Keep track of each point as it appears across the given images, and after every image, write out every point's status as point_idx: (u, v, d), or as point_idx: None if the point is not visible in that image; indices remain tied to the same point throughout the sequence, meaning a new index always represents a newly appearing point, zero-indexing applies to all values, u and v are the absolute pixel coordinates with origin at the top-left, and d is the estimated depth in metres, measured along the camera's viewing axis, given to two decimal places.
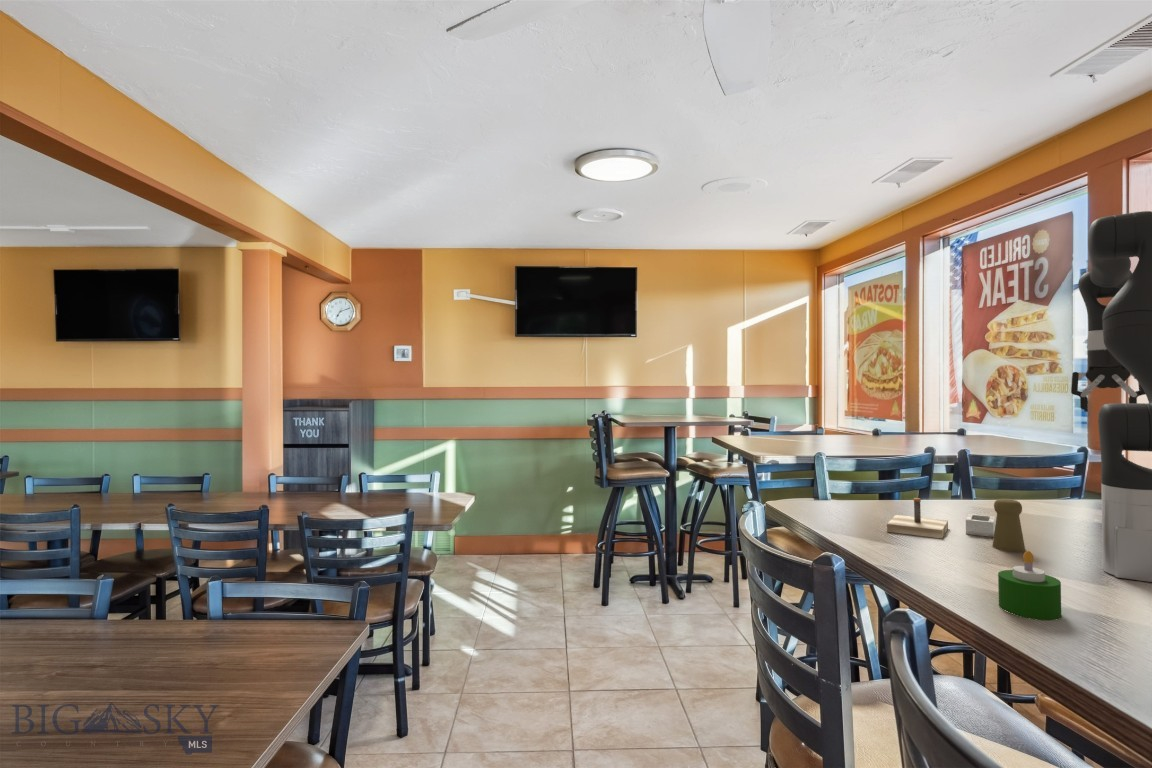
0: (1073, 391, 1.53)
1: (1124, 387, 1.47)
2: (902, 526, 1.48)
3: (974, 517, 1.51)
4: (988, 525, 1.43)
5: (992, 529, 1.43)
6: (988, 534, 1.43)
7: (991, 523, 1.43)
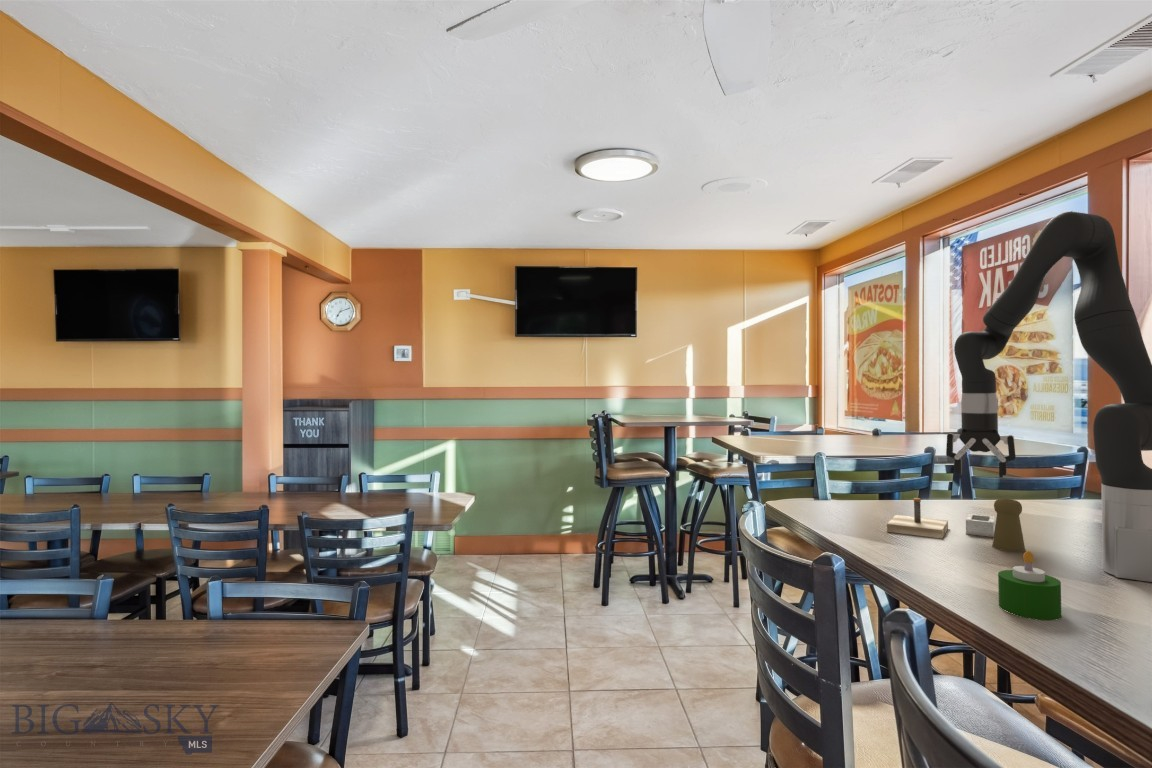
0: (947, 453, 1.51)
1: (994, 452, 1.44)
2: (902, 526, 1.48)
3: (974, 517, 1.51)
4: (988, 525, 1.43)
5: (992, 529, 1.43)
6: (988, 534, 1.43)
7: (991, 523, 1.43)
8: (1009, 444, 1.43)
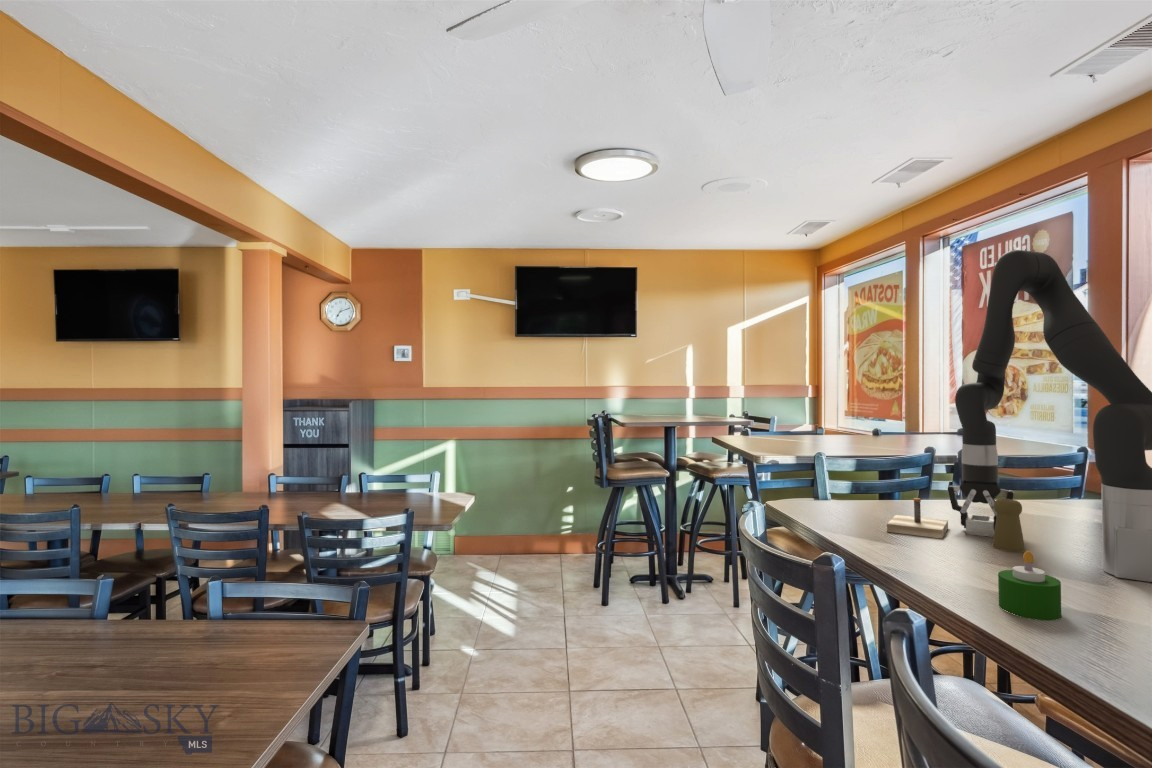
0: (953, 506, 1.50)
1: (991, 505, 1.45)
2: (902, 526, 1.48)
3: (974, 517, 1.51)
4: (988, 525, 1.43)
5: (992, 529, 1.43)
6: (988, 534, 1.43)
7: (991, 523, 1.43)
8: None
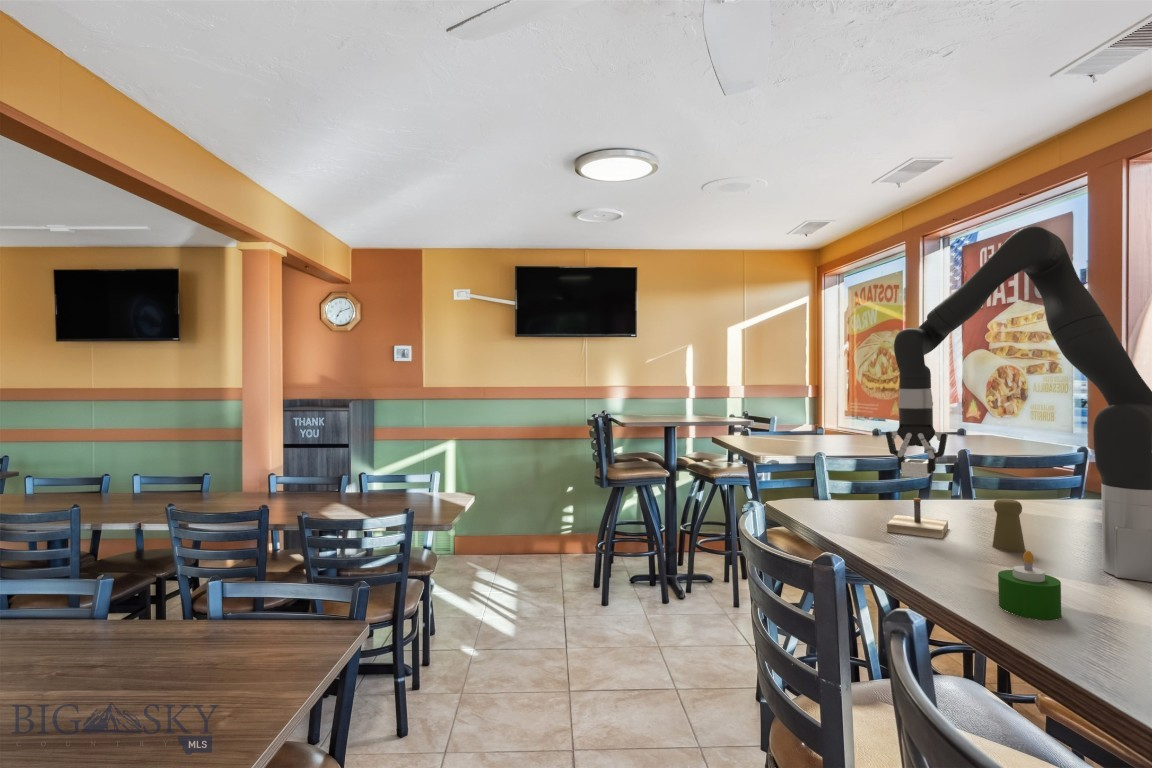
0: (891, 451, 1.53)
1: (925, 447, 1.48)
2: (902, 526, 1.48)
3: (911, 461, 1.54)
4: (922, 466, 1.47)
5: (926, 470, 1.46)
6: (922, 475, 1.47)
7: (925, 464, 1.46)
8: (941, 441, 1.46)
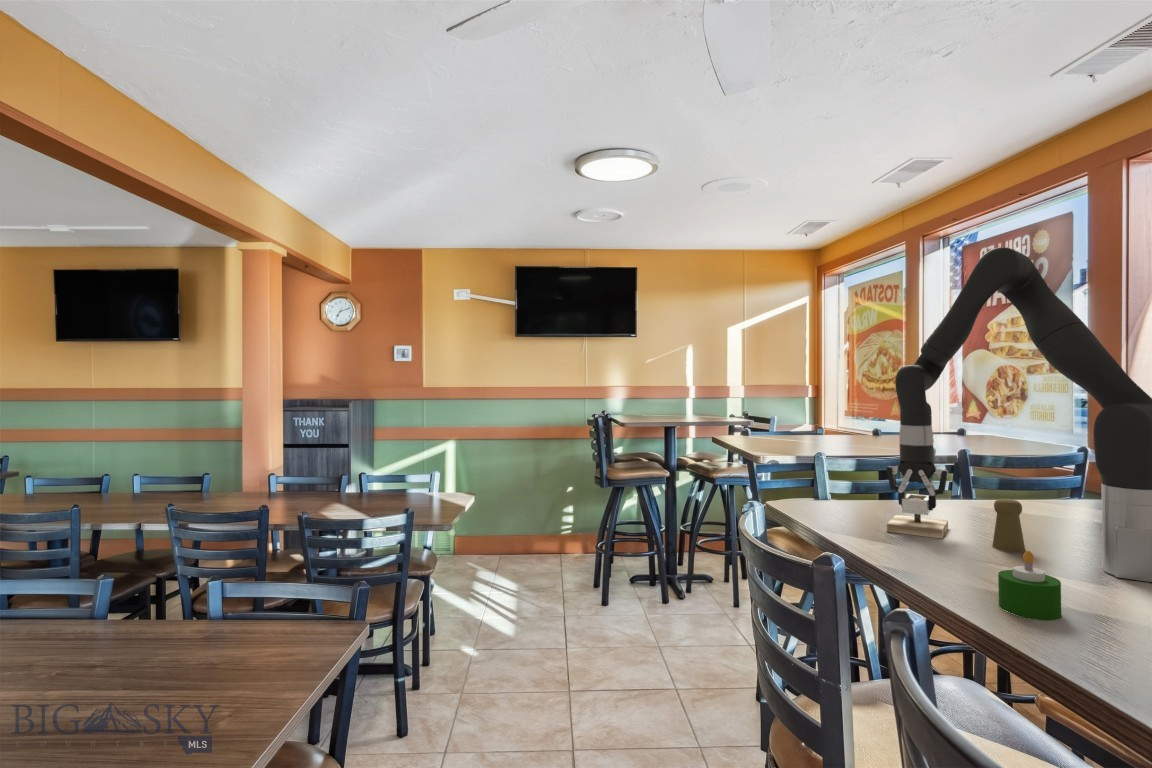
0: (891, 486, 1.53)
1: (926, 484, 1.48)
2: (902, 526, 1.48)
3: (912, 497, 1.54)
4: (922, 504, 1.47)
5: (927, 508, 1.46)
6: (922, 512, 1.47)
7: (925, 501, 1.46)
8: (941, 478, 1.46)
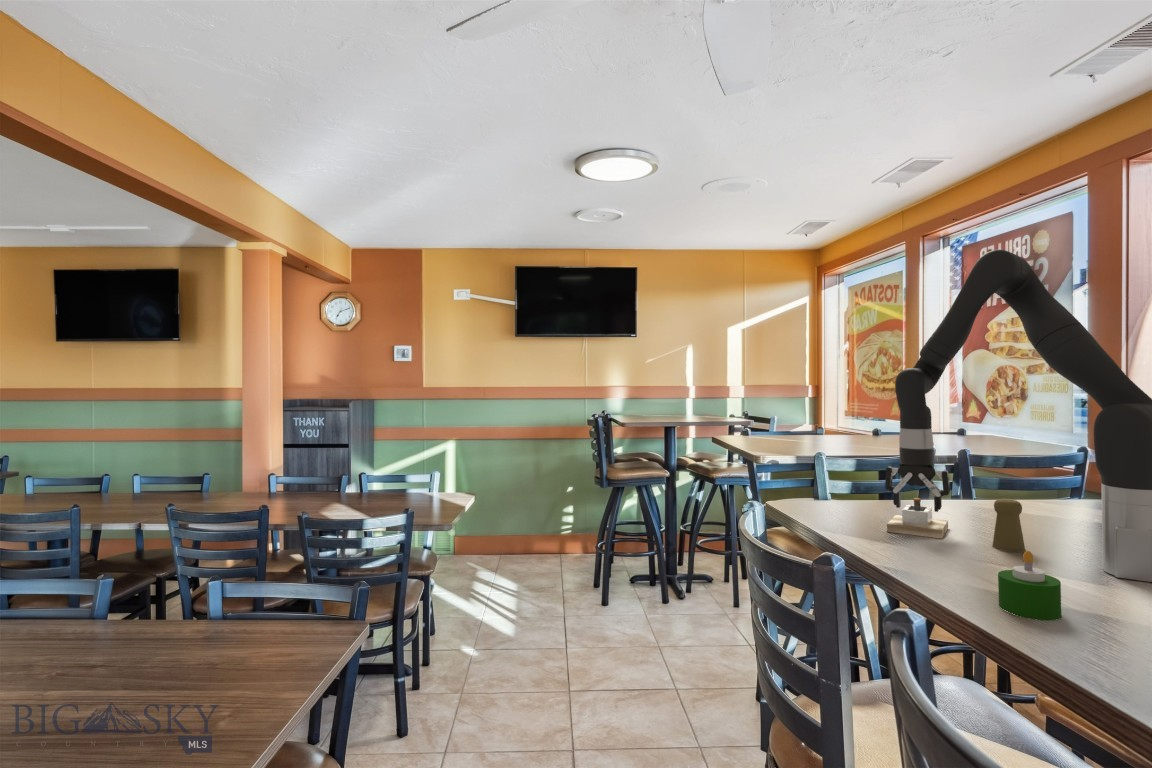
0: (886, 486, 1.54)
1: (929, 486, 1.48)
2: (902, 526, 1.48)
3: (912, 508, 1.54)
4: (923, 515, 1.47)
5: (927, 519, 1.46)
6: (923, 524, 1.47)
7: (925, 513, 1.46)
8: (943, 479, 1.46)
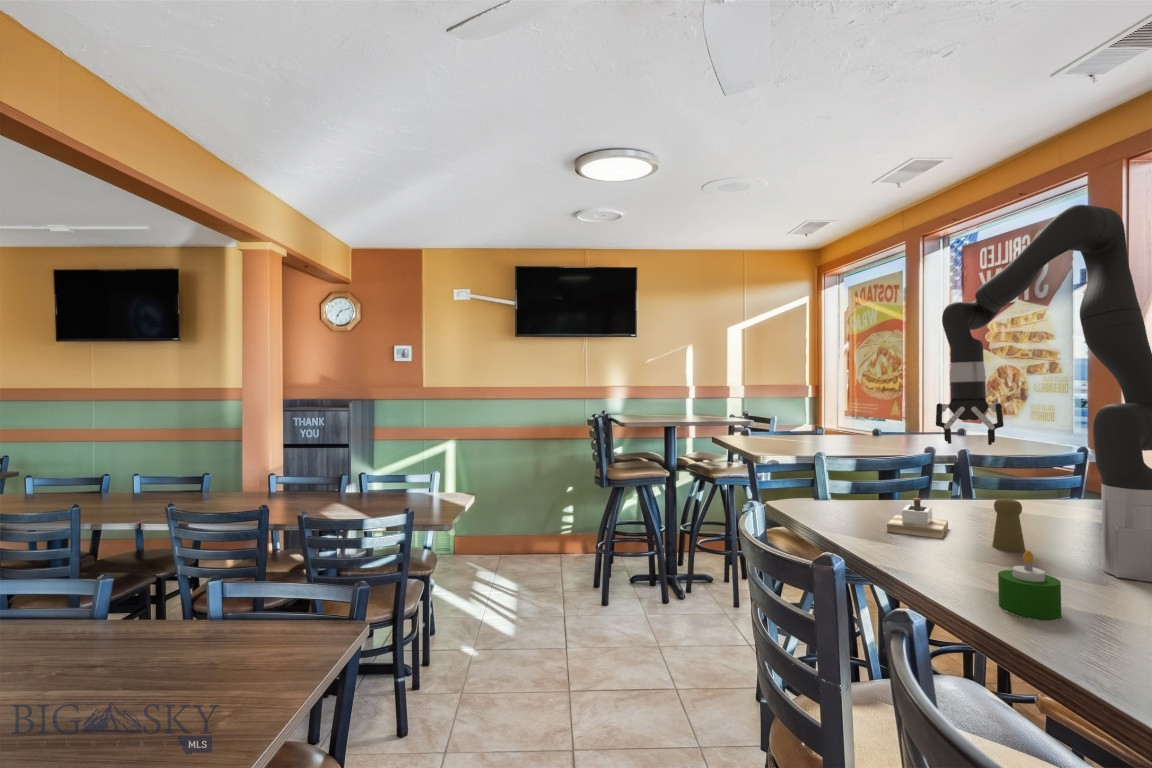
0: (937, 423, 1.52)
1: (982, 419, 1.46)
2: (902, 526, 1.48)
3: (912, 508, 1.54)
4: (923, 515, 1.47)
5: (927, 519, 1.46)
6: (923, 524, 1.47)
7: (925, 513, 1.46)
8: (997, 411, 1.45)
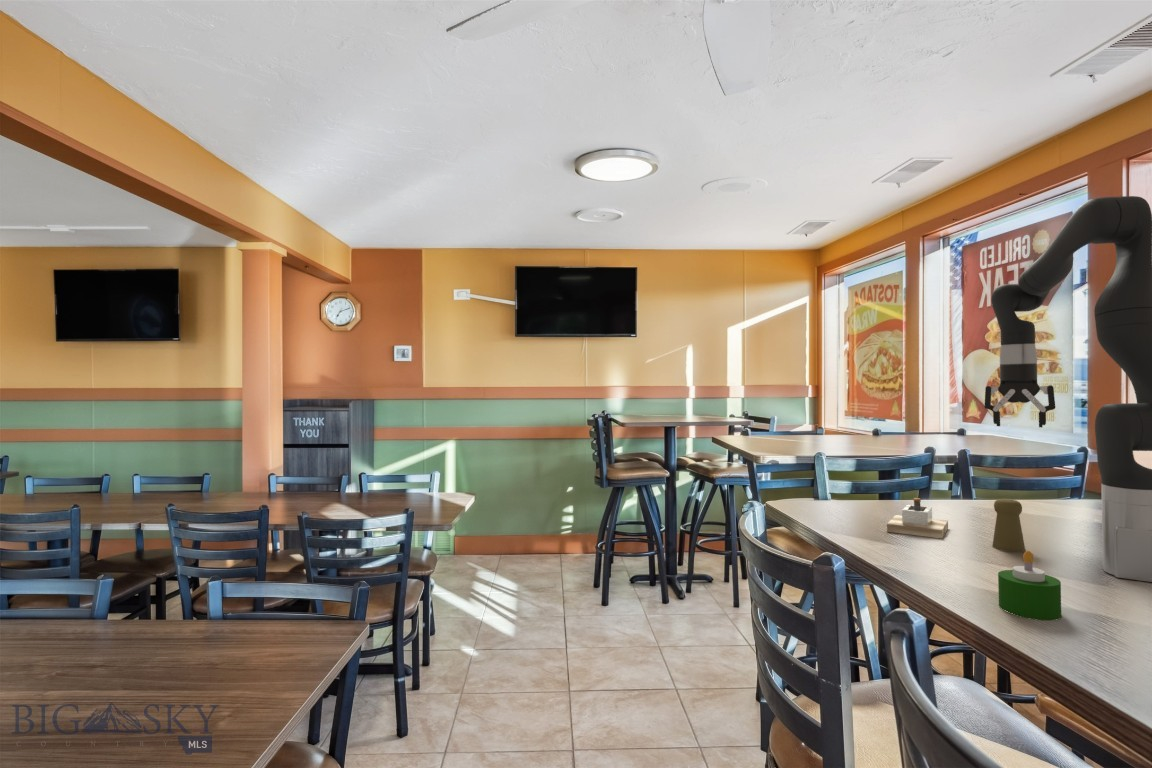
0: (986, 405, 1.52)
1: (1033, 402, 1.46)
2: (902, 526, 1.48)
3: (912, 508, 1.54)
4: (923, 515, 1.47)
5: (927, 519, 1.46)
6: (923, 524, 1.47)
7: (925, 513, 1.46)
8: (1049, 394, 1.44)
